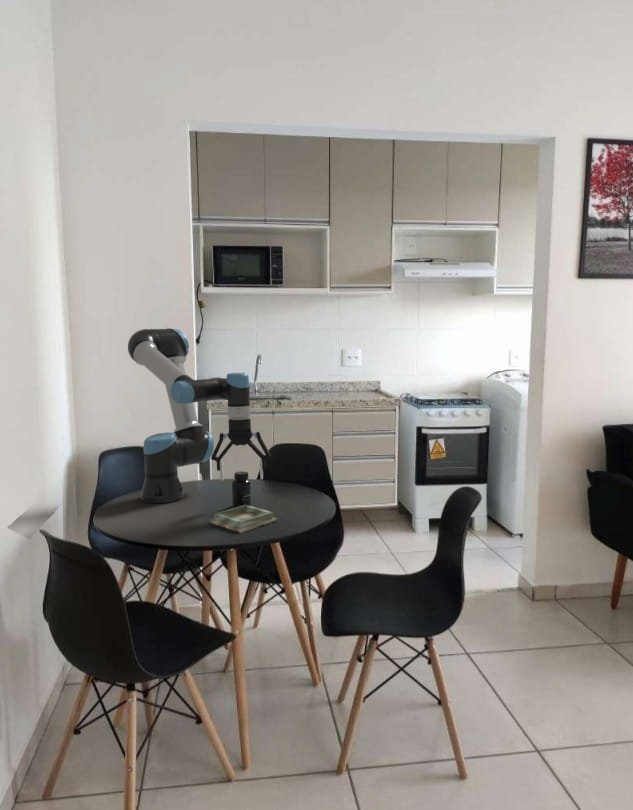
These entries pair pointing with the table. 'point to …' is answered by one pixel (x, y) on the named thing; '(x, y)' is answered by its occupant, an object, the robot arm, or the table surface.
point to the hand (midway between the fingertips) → (242, 479)
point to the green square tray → (243, 518)
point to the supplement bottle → (241, 490)
